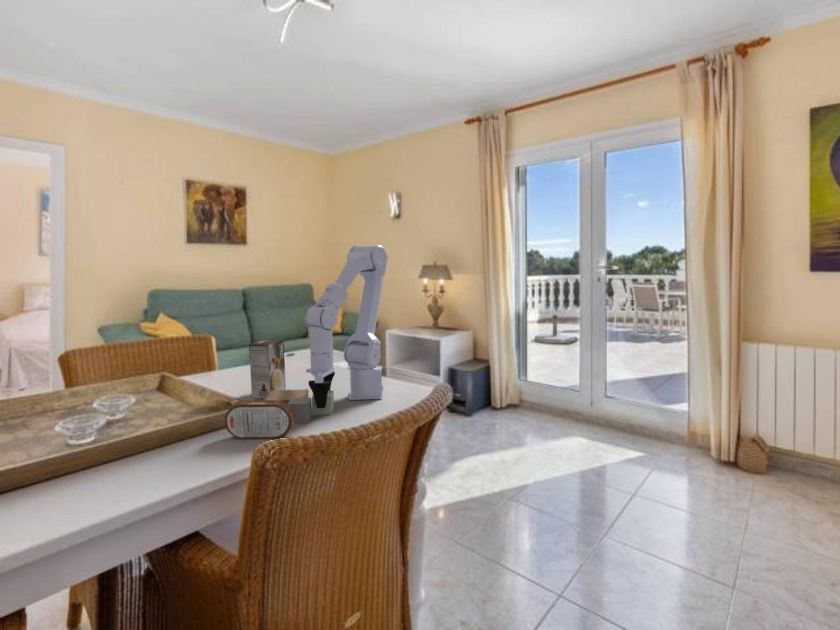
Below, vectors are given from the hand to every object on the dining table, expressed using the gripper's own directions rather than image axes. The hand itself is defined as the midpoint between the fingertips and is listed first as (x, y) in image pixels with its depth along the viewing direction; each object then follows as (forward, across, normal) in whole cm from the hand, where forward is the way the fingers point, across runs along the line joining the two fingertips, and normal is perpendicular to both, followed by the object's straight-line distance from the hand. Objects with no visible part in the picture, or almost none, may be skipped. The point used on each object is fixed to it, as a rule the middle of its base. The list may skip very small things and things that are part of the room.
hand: (322, 403), depth 121 cm
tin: (+3, +17, -12) cm, 21 cm away
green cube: (+2, 0, 0) cm, 2 cm away
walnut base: (+3, -4, -10) cm, 11 cm away
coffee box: (+2, -18, -18) cm, 26 cm away
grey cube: (+2, +6, -5) cm, 8 cm away
